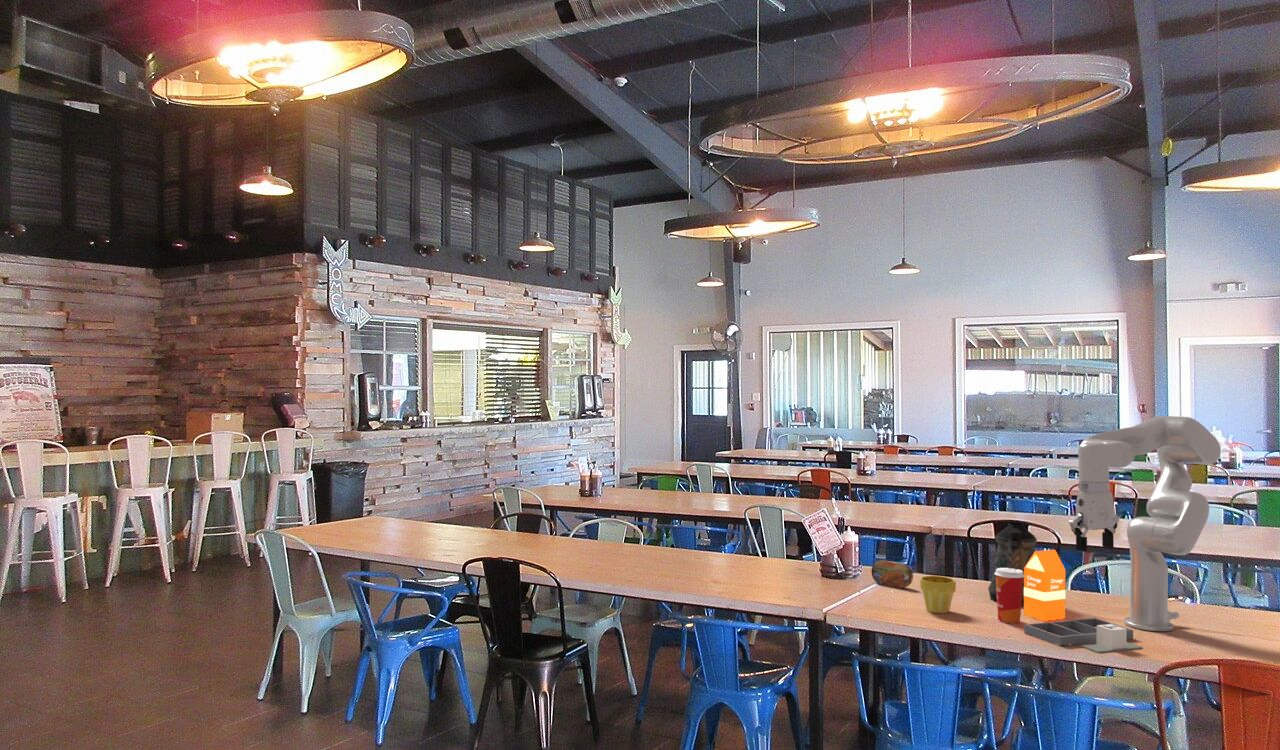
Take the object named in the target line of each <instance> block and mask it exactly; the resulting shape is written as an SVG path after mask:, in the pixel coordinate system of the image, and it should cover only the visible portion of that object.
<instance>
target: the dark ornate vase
mask: <svg viewBox="0 0 1280 750" xmlns="http://www.w3.org/2000/svg"><path fill="white" fill-rule="evenodd" d="M1037 541H1038V539H1037V537H1036V536H1035V535H1034V534H1033V533H1032V532H1031V531H1030V530H1028V529H1027V528H1026V527H1025V525H1024V523H1022V522H1009V523H1008V525H1007V526H1006V527H1005V528H1004V529H1002V530H1001V531H999V532H998V533H996V535H995V542H996V543H997V548H996V553H995V559H994V568H993V573H992V577H991V581H990V584H989V586H988V589H987V590H988V593H989V598H990V600H991V601H992V602H994V603H997V591H996V575H995V572H996V569H997V568H1010V569H1011V568H1013V569H1016V570H1017V569H1019V570H1022V571H1023V575H1024V567H1025V566H1026V565H1027V563H1028V562H1029V560H1030V559H1031V557H1032V556H1033V554H1034V553H1035V551H1036V549H1035V547H1036V544H1037ZM1016 570H1015V571H1016ZM1021 607H1024V577H1023V588H1022V602H1021Z"/></svg>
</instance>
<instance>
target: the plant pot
mask: <svg viewBox="0 0 1280 750" xmlns="http://www.w3.org/2000/svg"><path fill="white" fill-rule="evenodd" d="M956 582H957V581H956V579H954V578H951V577H949V576H941V575H924V576H921V577H920V578H919V586H920V587H919V588H920V590H921V591H922V594H923V599H924V604H925V608H926V609H925V610H926V611H927V612H929V613H933V614H947V613H950V609H951V605H952V602H953V601H952V600H953V597H954V596H953V595H954V593H955V592H956V591H957V590H956V589H957V587H956V586H957V585H956V584H957V583H956Z"/></svg>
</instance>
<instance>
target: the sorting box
mask: <svg viewBox="0 0 1280 750" xmlns="http://www.w3.org/2000/svg"><path fill="white" fill-rule="evenodd" d="M1107 624H1113V625H1116V626H1119V627H1122V628H1125V629H1127V637H1126V641H1127V639H1129V640H1133V639H1134V630H1133V629H1131V628H1128V627H1124V626H1122V625H1118V624H1116V623H1112V622H1108V621H1105V620H1102V619H1100V618H1098V617H1097V618H1096V617H1091V618H1082V619H1080V618H1079V619H1069V620H1059V621H1057V620H1055V621H1044V622H1035V623H1025V624H1024V634H1025V633H1027V634H1026V635H1028V634H1029V636H1031V635H1033V636H1035V637H1034V638H1036V637H1038V638H1037V639H1039V638H1041V639H1040V640H1042V639H1044V640H1046V641H1045V642H1047V641H1049V642H1048V643H1050V642H1052V643H1055V644H1058V645H1060V646H1059V647H1063V646H1062V645H1069V644H1079V645H1083V644H1082V643H1089V644H1095V643H1094V642H1097V628H1095V627H1097V625H1107ZM1073 629H1074V630H1073ZM1076 630H1077V631H1076ZM1047 631H1051V632H1047ZM1078 631H1080V632H1078ZM1052 632H1053V633H1052ZM1081 632H1083V633H1081ZM1055 633H1056V634H1055ZM1084 633H1086V634H1084ZM1058 634H1059V635H1058ZM1061 635H1062V636H1061ZM1033 636H1032V637H1033ZM1044 640H1043V641H1044ZM1052 643H1051V644H1052ZM1055 644H1054V645H1055ZM1058 645H1057V646H1058ZM1069 646H1070V645H1069Z"/></svg>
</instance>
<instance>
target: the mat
mask: <svg viewBox="0 0 1280 750" xmlns="http://www.w3.org/2000/svg"><path fill="white" fill-rule="evenodd" d="M1079 645H1080V646H1082V647H1081V648H1083V647H1085V648H1087V649H1086V650H1088V649H1089V650H1088V651H1091V652H1094V653H1098V654H1101V653H1103V654H1104V653H1113V652H1121V651H1122V650H1123V651H1130V649H1133V650H1140V649H1141V648H1142V649H1143V646H1141V645H1137V644H1135V643H1132V642H1129V641H1126V648H1120V649H1109V648H1106V647H1103V646H1101V645H1098V644H1097V643H1089V644H1079ZM1085 648H1084V649H1085Z"/></svg>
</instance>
